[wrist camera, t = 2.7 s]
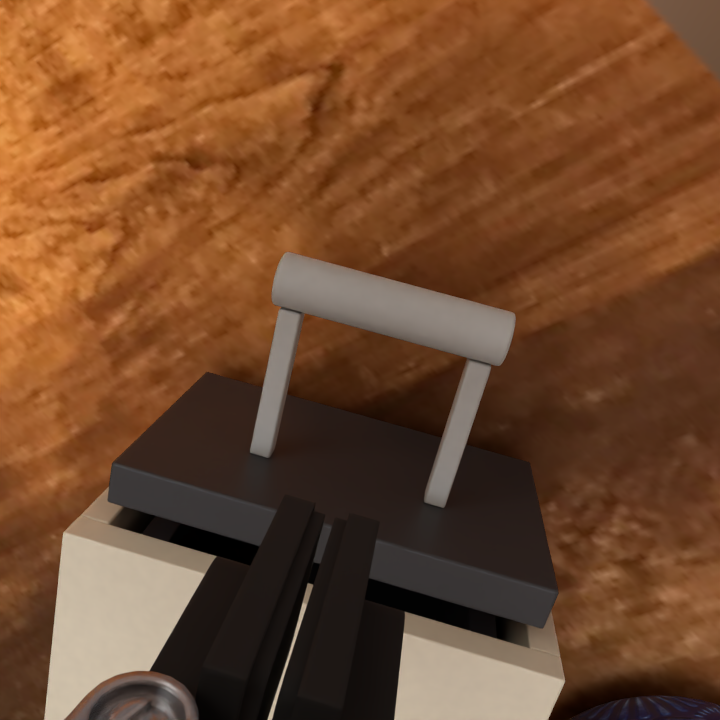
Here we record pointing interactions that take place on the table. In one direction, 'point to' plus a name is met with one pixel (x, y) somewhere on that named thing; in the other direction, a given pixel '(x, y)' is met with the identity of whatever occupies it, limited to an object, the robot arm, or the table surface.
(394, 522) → the drawer
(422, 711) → the cabinet
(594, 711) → the planter
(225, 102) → the table surface
